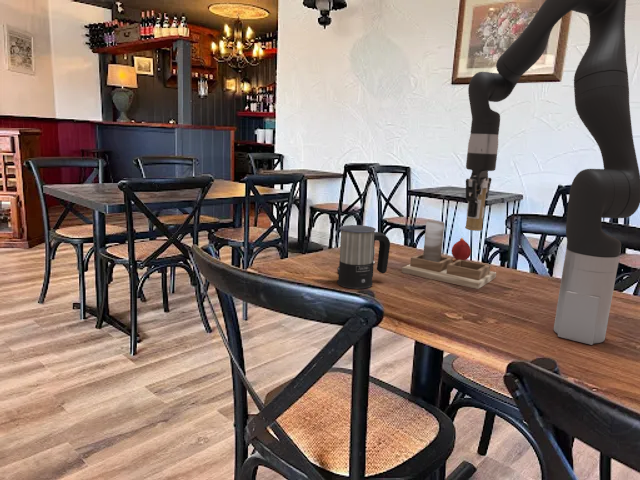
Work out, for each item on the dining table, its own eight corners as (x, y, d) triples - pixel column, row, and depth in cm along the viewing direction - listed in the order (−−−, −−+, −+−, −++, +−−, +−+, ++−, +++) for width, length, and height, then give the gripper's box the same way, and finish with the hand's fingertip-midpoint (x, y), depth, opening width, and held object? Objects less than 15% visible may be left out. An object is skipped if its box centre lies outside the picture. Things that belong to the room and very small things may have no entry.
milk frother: (354, 292, 119) (357, 232, 116) (312, 276, 131) (315, 222, 128) (392, 282, 128) (396, 227, 125) (350, 269, 140) (353, 218, 137)
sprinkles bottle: (485, 230, 132) (491, 180, 129) (474, 231, 129) (480, 180, 127) (472, 227, 136) (477, 179, 133) (461, 228, 133) (466, 179, 130)
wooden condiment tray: (478, 289, 126) (484, 234, 124) (401, 272, 139) (406, 222, 136) (495, 277, 138) (501, 227, 135) (423, 263, 151) (428, 217, 148)
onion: (471, 262, 155) (474, 238, 153) (466, 266, 150) (469, 240, 148) (453, 259, 158) (456, 235, 156) (448, 262, 153) (450, 237, 151)
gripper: (488, 152, 121) (480, 220, 124) (504, 152, 132) (496, 215, 135) (458, 151, 125) (451, 216, 128) (477, 151, 136) (470, 211, 140)
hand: (475, 215), depth 132 cm, fingers closed on sprinkles bottle, 4 cm apart
